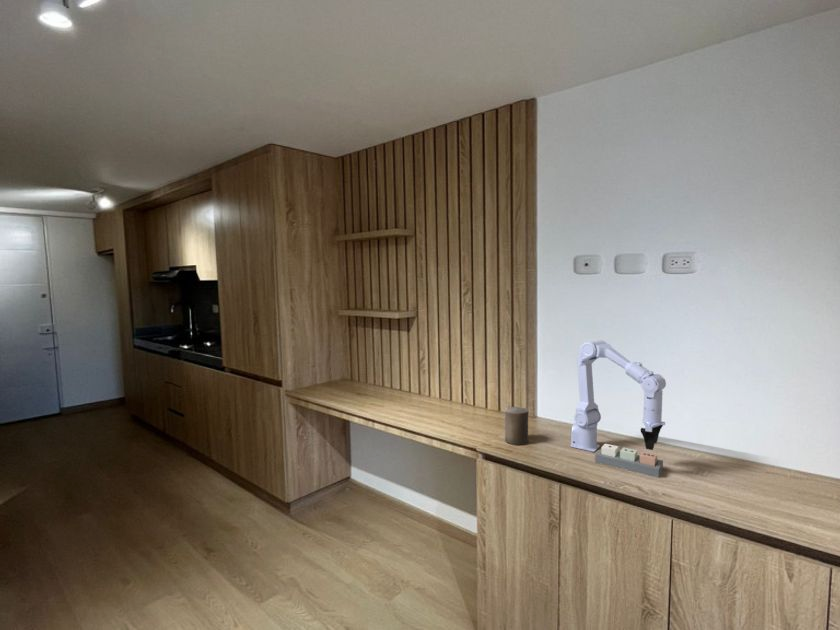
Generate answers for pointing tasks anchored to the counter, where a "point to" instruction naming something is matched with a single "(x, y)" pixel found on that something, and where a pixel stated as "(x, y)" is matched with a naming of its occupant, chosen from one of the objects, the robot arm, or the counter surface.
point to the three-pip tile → (648, 458)
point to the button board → (629, 464)
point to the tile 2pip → (628, 454)
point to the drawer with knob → (609, 450)
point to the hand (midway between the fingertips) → (651, 445)
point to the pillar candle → (516, 425)
